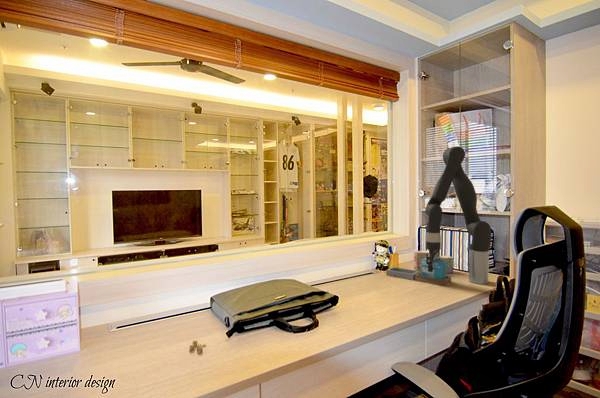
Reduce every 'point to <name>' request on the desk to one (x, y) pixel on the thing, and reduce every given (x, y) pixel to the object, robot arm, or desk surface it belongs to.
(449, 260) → the stack of blocks
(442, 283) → the walnut bin
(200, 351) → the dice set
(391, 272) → the grey bin
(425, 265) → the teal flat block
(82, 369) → the desk surface
